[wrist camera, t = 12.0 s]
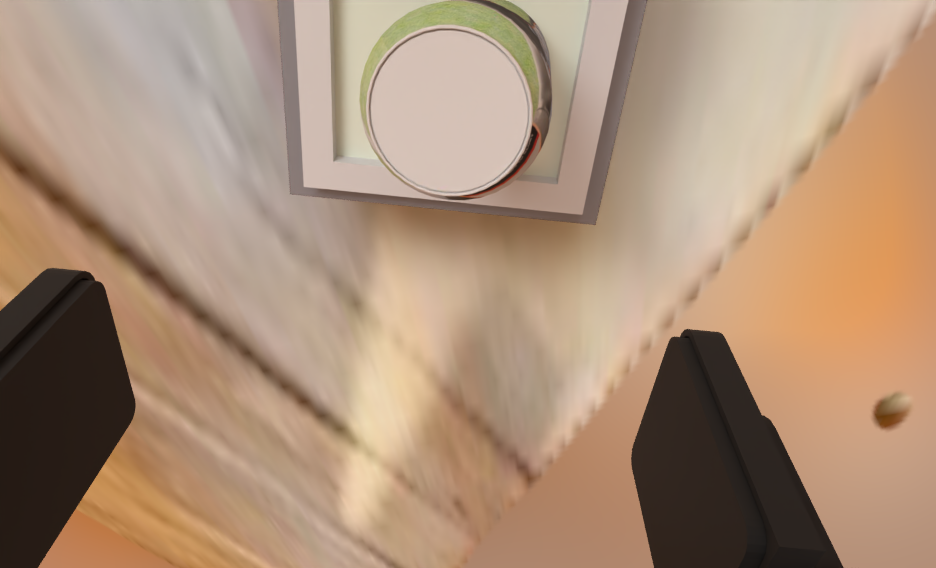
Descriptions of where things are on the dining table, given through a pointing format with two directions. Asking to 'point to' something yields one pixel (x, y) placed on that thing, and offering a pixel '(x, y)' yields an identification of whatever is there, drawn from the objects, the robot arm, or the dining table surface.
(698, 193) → the dining table surface
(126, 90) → the dining table surface
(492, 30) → the beverage can
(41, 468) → the robot arm
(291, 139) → the stand
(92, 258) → the dining table surface
